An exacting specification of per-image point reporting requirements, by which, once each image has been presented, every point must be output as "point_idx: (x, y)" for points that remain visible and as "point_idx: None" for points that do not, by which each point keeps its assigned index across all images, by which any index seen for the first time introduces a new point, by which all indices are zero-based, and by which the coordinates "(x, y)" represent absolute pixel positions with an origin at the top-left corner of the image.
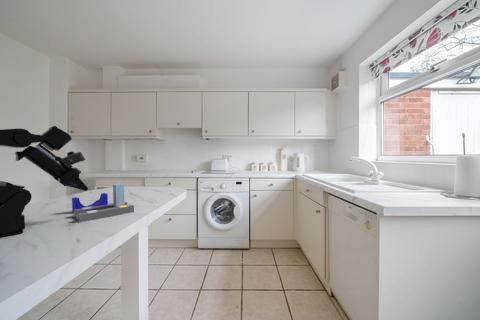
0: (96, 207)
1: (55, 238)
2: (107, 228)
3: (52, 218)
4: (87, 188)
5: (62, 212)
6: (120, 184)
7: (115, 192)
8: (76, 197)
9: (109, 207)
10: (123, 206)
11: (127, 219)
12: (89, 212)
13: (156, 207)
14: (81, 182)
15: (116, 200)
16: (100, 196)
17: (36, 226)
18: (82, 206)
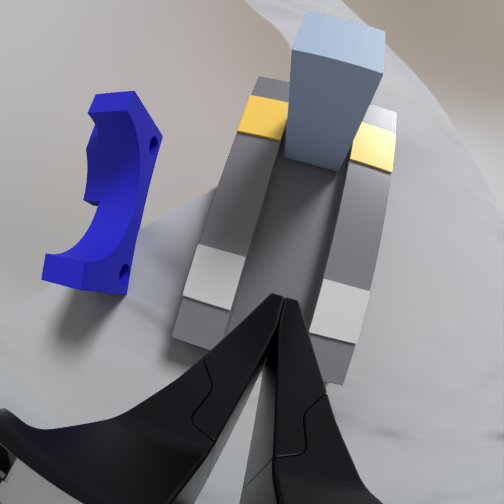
0: (246, 233)
1: (433, 481)
2: (500, 338)
3: (130, 397)
4: (300, 311)
5: (62, 313)
6: (361, 36)
7: (350, 108)
8: (55, 259)
9: (272, 171)
10: (382, 149)
11: (471, 226)
12: (351, 332)
13: (389, 54)
14: (325, 409)
15: (350, 143)
16: (96, 124)
17: (212, 484)
18: (118, 252)
